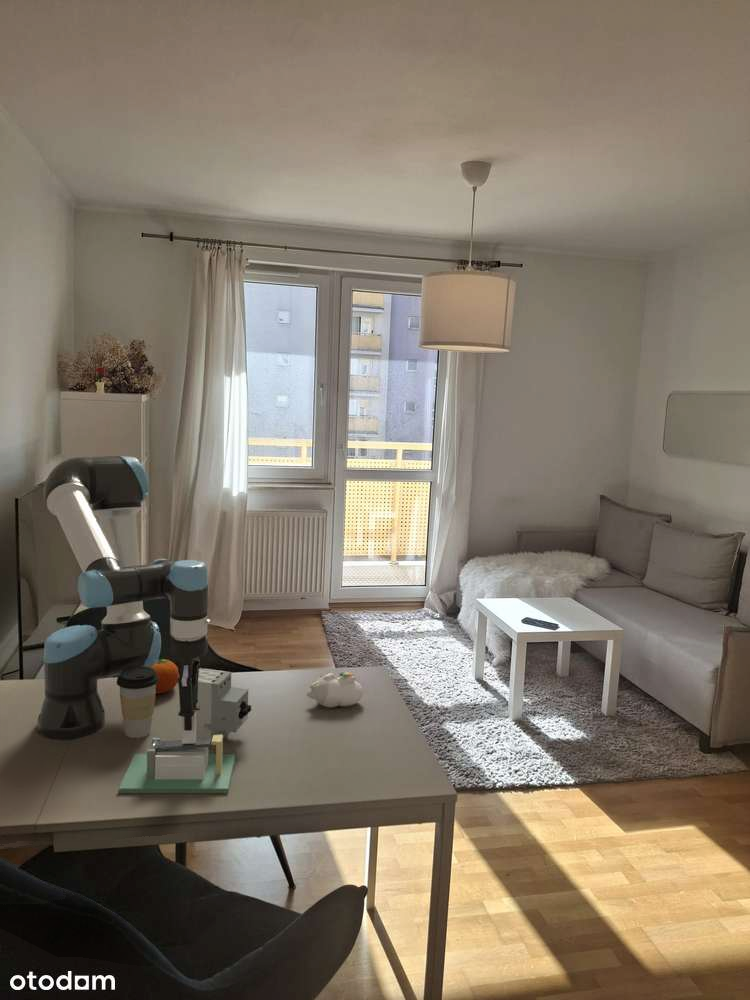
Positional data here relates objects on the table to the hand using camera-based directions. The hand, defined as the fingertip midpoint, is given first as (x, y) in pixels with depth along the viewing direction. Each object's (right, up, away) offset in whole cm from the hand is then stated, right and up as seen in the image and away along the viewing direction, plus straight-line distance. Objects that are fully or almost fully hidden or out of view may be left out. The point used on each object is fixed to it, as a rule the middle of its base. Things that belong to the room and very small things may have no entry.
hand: (189, 741), depth 156 cm
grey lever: (-2, -1, 0) cm, 2 cm away
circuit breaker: (+3, -5, +19) cm, 20 cm away
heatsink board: (-2, -8, +1) cm, 8 cm away
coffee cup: (-17, -4, +19) cm, 26 cm away
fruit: (-19, 0, +43) cm, 47 cm away
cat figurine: (+29, -3, +40) cm, 49 cm away
